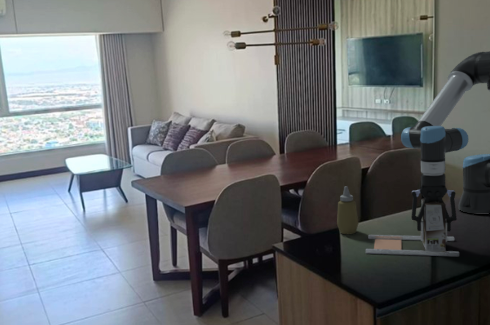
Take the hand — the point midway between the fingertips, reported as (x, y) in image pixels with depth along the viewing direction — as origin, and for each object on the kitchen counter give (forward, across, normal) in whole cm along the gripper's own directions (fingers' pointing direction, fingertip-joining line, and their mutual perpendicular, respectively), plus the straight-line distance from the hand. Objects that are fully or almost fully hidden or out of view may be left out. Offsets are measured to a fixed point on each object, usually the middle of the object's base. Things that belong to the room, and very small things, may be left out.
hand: (433, 240), depth 168 cm
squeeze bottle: (+3, -30, +14) cm, 33 cm away
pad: (+2, -15, 0) cm, 15 cm away
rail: (+2, -8, 0) cm, 8 cm away
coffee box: (+3, 0, 0) cm, 3 cm away
